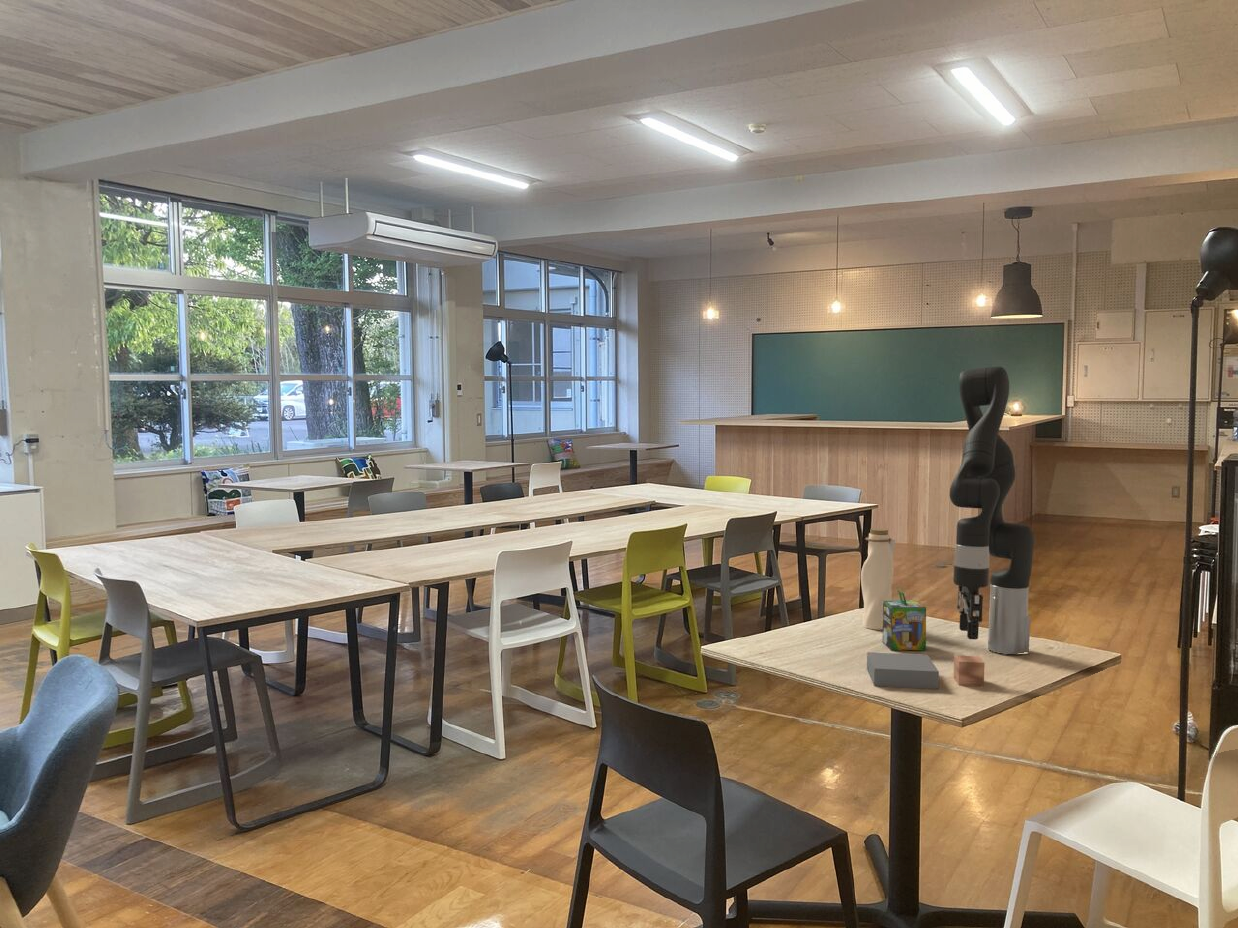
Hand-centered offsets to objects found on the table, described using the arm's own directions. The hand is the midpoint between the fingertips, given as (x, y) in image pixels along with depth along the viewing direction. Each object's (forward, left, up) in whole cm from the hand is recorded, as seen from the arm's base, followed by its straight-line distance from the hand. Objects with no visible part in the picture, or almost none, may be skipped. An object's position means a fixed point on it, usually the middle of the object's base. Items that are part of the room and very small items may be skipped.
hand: (968, 634), depth 217 cm
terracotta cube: (0, 0, -11) cm, 11 cm away
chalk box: (+10, -30, -11) cm, 34 cm away
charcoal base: (+15, 0, -11) cm, 18 cm away
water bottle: (+14, -52, -11) cm, 55 cm away
